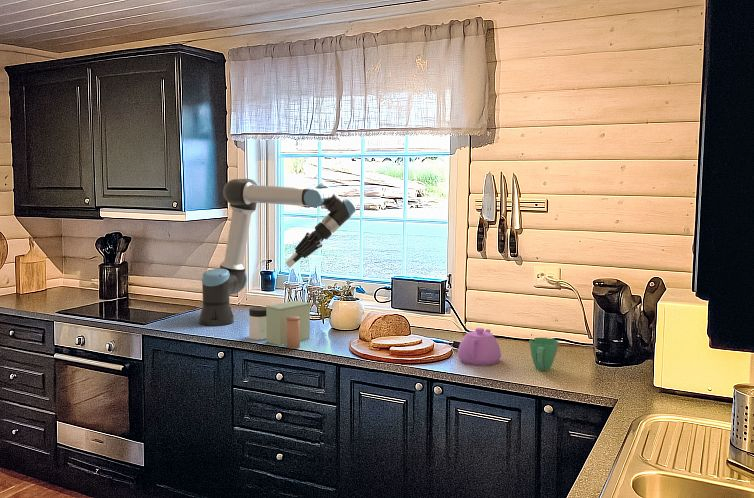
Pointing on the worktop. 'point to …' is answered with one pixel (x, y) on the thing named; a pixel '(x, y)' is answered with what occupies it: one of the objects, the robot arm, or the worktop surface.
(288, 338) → the rust tin
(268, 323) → the green tin
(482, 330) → the teapot
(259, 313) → the jar
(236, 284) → the robot arm
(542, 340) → the mug
